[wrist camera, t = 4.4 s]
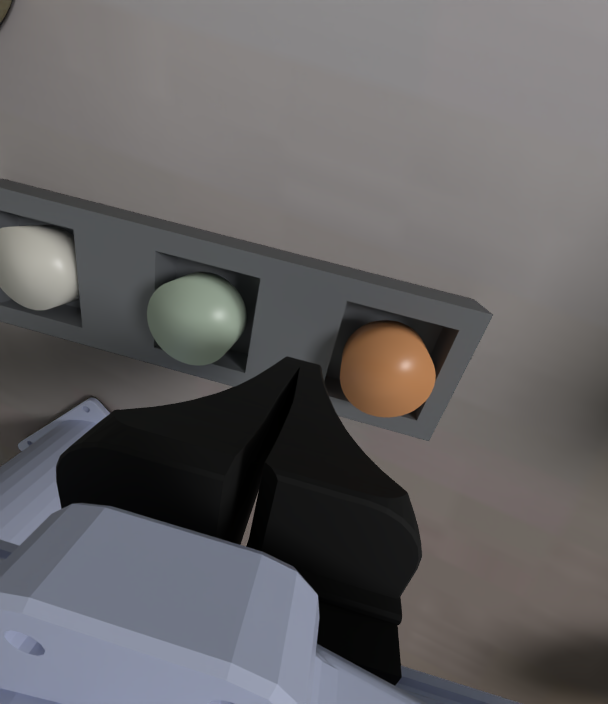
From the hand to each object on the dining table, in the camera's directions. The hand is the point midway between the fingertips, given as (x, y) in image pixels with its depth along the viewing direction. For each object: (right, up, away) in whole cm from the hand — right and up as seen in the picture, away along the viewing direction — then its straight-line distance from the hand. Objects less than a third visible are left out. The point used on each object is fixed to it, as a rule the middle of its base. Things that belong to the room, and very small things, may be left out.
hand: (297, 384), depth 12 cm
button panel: (-4, +4, +6) cm, 9 cm away
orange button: (+4, +1, +4) cm, 6 cm away
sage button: (-5, +3, +5) cm, 7 cm away
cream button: (-13, +6, +6) cm, 16 cm away
